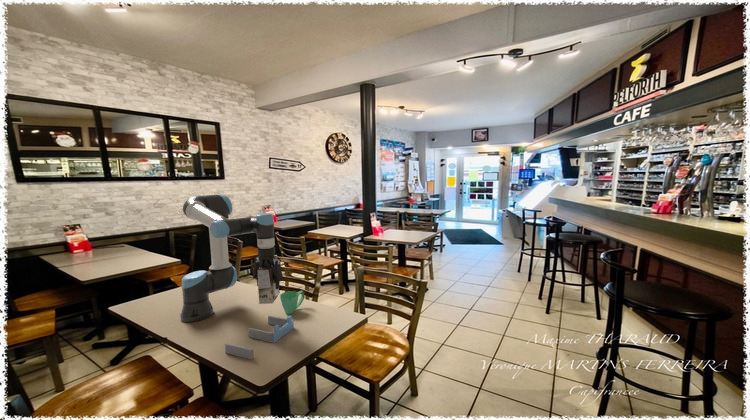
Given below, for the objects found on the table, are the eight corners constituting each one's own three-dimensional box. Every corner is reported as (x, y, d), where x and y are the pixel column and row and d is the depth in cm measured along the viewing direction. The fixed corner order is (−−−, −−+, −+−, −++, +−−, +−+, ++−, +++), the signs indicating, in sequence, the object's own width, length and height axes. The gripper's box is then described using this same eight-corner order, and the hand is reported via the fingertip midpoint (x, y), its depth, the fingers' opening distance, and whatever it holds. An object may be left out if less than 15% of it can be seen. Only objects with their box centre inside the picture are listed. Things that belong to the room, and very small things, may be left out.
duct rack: (225, 352, 120) (224, 338, 119) (269, 323, 145) (269, 310, 144) (253, 359, 115) (252, 344, 114) (293, 327, 140) (293, 314, 139)
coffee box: (273, 303, 130) (271, 269, 129) (258, 304, 130) (256, 270, 128) (278, 295, 140) (276, 263, 138) (264, 296, 139) (263, 264, 137)
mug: (288, 318, 150) (287, 299, 149) (277, 313, 156) (276, 295, 155) (309, 308, 162) (309, 290, 161) (298, 303, 168) (298, 287, 167)
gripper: (242, 247, 132) (245, 294, 135) (279, 250, 125) (281, 300, 127) (254, 243, 139) (256, 288, 142) (290, 246, 132) (292, 293, 134)
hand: (268, 294), depth 134 cm, fingers closed on coffee box, 8 cm apart
